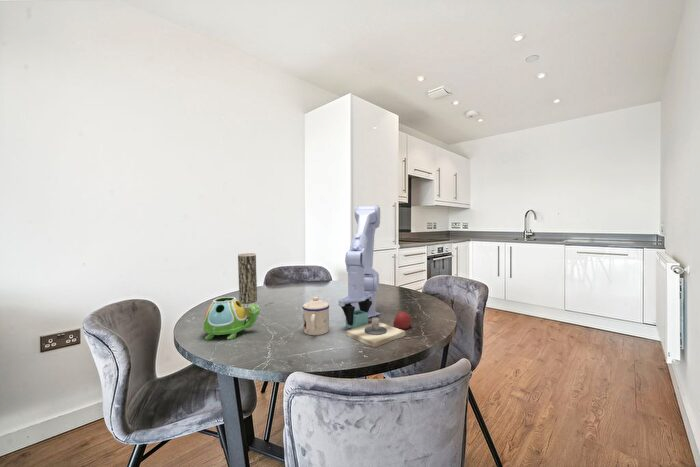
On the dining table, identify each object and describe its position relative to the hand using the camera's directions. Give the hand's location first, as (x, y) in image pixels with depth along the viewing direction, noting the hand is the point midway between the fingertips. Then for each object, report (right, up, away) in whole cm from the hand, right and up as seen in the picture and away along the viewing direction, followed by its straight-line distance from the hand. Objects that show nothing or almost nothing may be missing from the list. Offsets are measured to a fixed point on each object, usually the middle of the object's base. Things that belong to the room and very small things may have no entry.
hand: (356, 322), depth 106 cm
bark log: (-43, -2, +15) cm, 46 cm away
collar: (0, -1, 0) cm, 1 cm away
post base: (+6, -2, -9) cm, 11 cm away
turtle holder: (-43, -3, -4) cm, 43 cm away
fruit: (+17, -1, -2) cm, 17 cm away
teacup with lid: (-14, -2, -5) cm, 15 cm away
